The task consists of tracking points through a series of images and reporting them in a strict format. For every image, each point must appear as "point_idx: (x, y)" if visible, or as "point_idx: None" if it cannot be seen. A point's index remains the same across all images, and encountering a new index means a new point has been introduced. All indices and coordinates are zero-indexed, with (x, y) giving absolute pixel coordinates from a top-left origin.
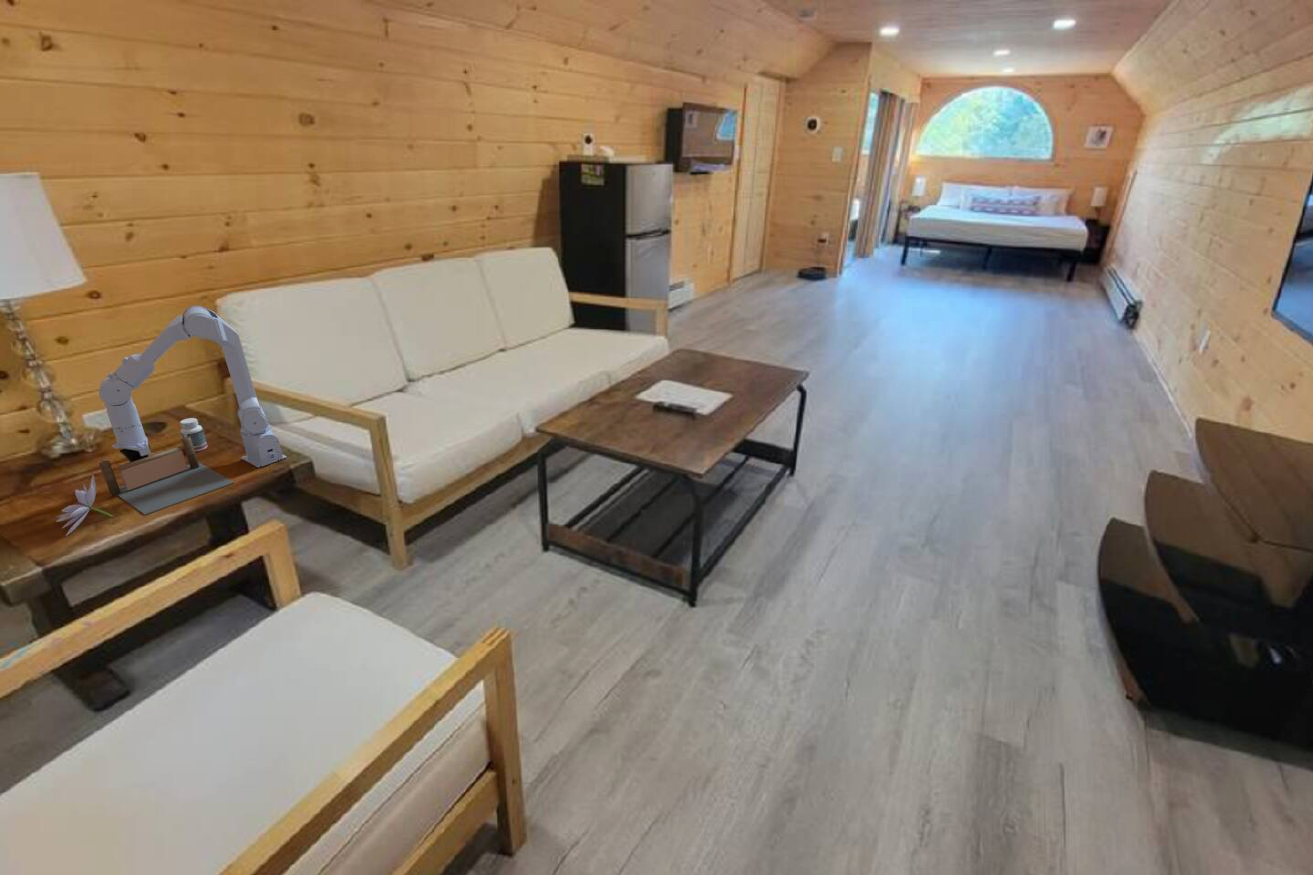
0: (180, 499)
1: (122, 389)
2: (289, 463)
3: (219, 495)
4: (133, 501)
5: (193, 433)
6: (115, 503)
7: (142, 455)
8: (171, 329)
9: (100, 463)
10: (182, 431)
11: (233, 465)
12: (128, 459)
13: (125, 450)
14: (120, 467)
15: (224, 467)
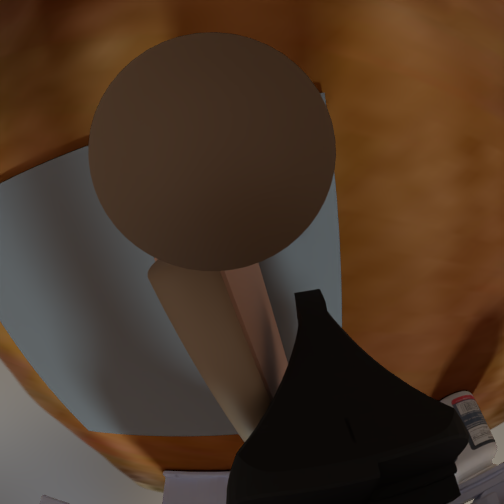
0: (12, 325)
1: None
2: (157, 486)
3: (26, 387)
4: (52, 182)
5: None
6: (96, 94)
7: (44, 500)
8: None
9: (195, 65)
10: (476, 458)
11: (226, 456)
12: (354, 374)
13: (360, 492)
14: (155, 290)
15: (228, 447)
